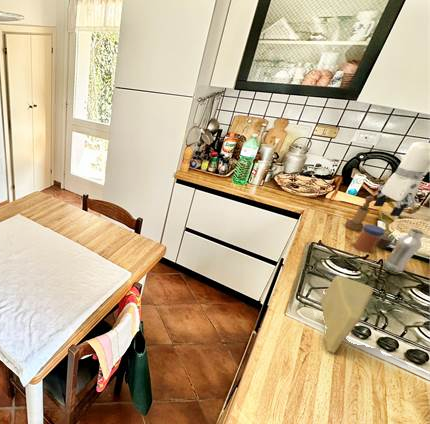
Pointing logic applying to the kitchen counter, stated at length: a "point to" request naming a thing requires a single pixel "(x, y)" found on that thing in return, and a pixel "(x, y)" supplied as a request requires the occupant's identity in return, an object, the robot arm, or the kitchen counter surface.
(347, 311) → the cheese
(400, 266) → the plastic bottle
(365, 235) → the jam jar
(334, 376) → the kitchen counter surface
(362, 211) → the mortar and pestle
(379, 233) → the jar lid
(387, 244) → the lid stand
